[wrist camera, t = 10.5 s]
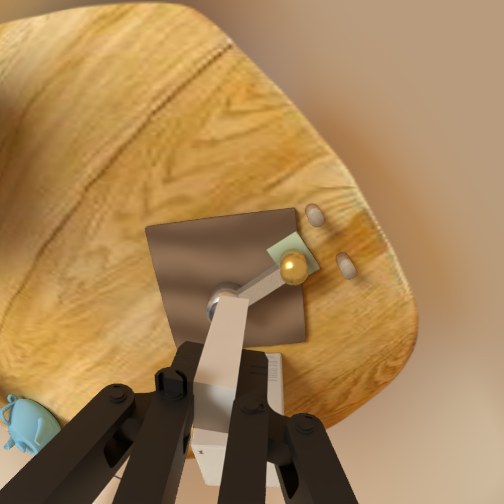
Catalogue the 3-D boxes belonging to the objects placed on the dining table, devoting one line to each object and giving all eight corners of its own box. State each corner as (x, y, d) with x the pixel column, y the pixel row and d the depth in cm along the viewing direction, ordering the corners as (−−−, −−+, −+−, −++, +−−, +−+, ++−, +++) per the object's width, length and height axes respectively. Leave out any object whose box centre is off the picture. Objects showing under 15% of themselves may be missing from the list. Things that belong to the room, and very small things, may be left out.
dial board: (146, 224, 34) (132, 235, 31) (345, 200, 32) (354, 208, 28) (178, 346, 40) (170, 365, 36) (348, 332, 38) (354, 352, 34)
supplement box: (220, 400, 43) (203, 486, 29) (211, 352, 40) (186, 444, 26) (284, 400, 42) (284, 489, 28) (283, 351, 39) (285, 447, 25)
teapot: (9, 380, 48) (-17, 410, 38) (66, 411, 48) (42, 447, 38) (23, 420, 53) (3, 449, 43) (75, 448, 53) (58, 481, 44)
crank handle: (226, 320, 37) (221, 339, 33) (204, 294, 36) (196, 311, 32) (313, 265, 34) (317, 280, 30) (291, 235, 33) (293, 248, 29)
